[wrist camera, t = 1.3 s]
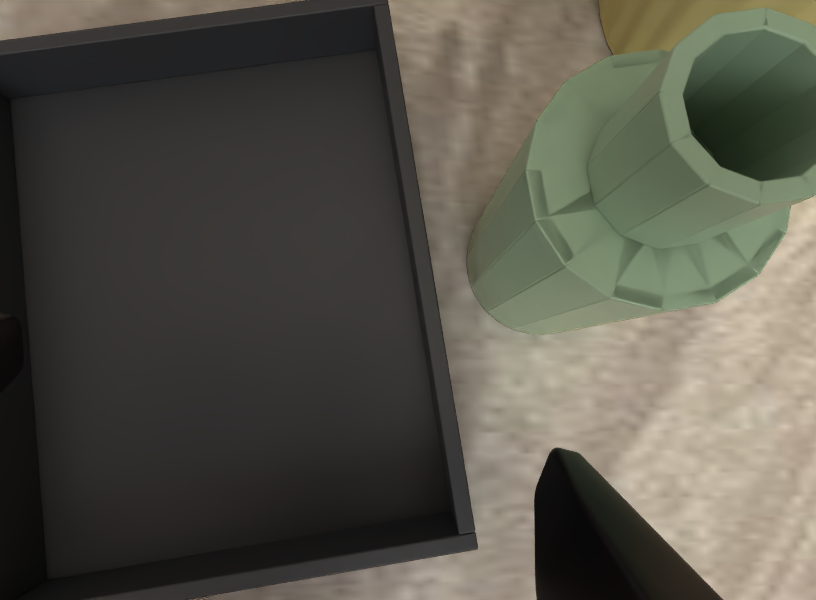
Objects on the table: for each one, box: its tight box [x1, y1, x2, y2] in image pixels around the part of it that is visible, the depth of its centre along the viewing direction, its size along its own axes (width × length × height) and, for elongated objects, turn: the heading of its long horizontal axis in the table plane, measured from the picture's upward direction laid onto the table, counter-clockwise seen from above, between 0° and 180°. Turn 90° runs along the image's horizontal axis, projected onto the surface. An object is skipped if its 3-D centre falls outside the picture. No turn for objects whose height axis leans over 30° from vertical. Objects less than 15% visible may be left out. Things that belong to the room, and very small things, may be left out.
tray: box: [0, 0, 478, 600], centre depth 21 cm, size 21×17×4 cm
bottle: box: [467, 8, 816, 335], centre depth 16 cm, size 6×6×14 cm
